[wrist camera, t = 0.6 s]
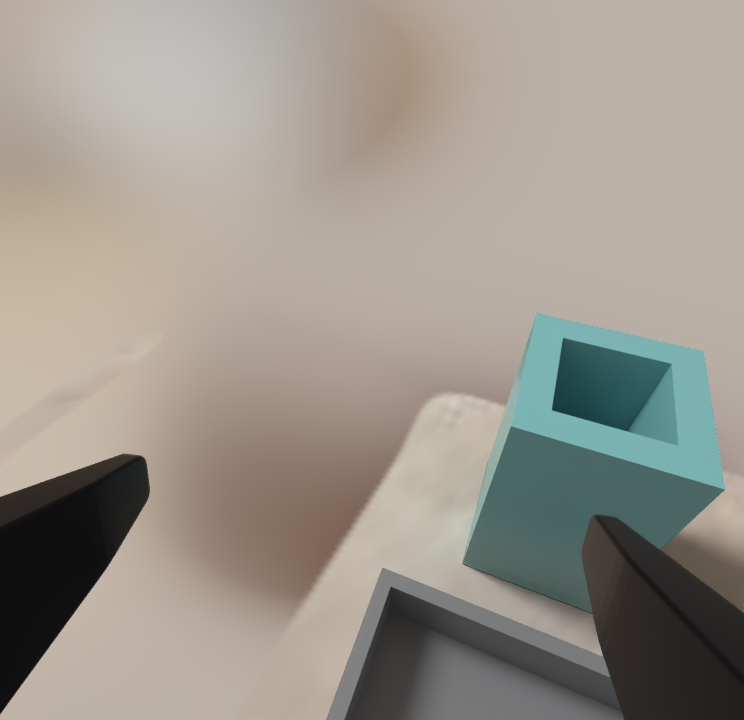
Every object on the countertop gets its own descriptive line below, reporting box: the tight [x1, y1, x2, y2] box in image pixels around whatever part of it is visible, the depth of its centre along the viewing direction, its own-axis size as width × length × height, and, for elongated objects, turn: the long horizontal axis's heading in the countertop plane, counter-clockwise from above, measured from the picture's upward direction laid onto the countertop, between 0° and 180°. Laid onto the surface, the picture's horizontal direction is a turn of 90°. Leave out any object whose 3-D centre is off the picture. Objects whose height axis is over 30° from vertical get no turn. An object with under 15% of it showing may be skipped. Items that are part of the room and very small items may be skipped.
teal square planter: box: [462, 313, 725, 613], centre depth 21 cm, size 6×6×12 cm
